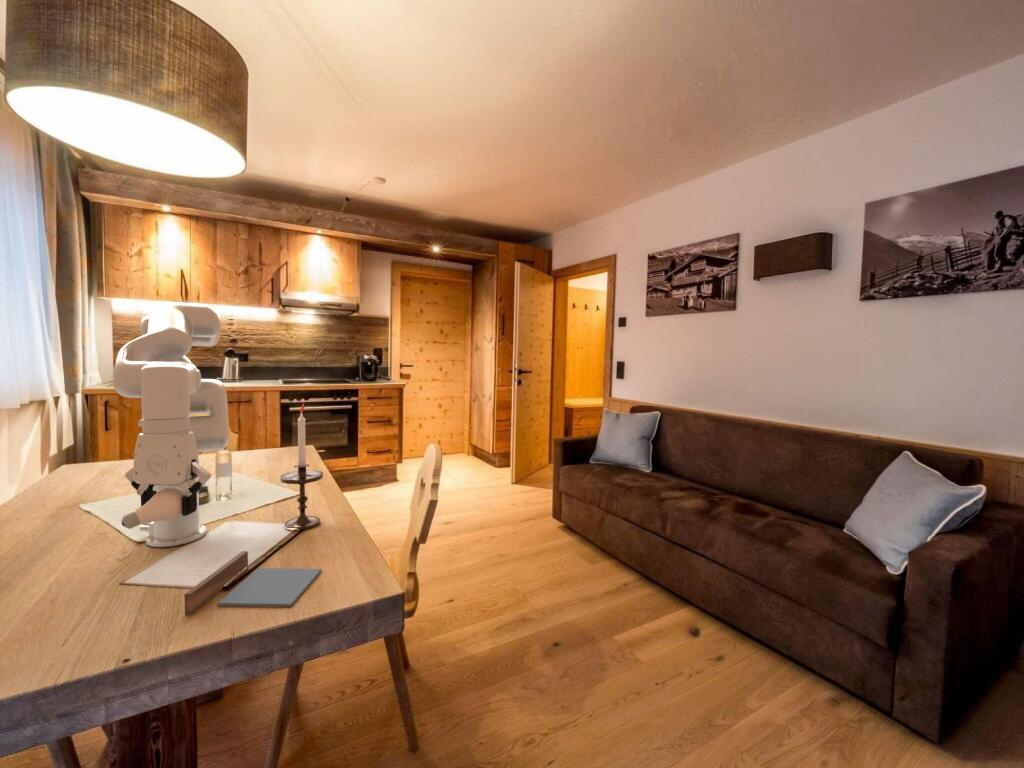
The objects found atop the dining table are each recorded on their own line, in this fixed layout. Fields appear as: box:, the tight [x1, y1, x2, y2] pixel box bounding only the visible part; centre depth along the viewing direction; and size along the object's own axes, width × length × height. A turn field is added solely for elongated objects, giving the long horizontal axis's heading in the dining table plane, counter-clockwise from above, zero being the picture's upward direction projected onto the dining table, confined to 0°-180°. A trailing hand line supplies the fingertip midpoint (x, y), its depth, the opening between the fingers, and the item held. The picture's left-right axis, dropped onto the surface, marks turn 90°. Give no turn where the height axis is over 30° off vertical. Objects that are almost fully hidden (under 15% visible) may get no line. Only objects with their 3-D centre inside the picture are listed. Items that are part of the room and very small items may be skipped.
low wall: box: [183, 550, 249, 616], centre depth 91 cm, size 1×18×4 cm, turn 1°
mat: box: [217, 567, 322, 608], centre depth 92 cm, size 14×14×1 cm
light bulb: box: [121, 487, 185, 530], centre depth 87 cm, size 7×7×11 cm
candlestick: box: [280, 402, 324, 532], centre depth 125 cm, size 11×11×35 cm
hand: (169, 512), depth 89 cm, fingers closed on light bulb, 7 cm apart
